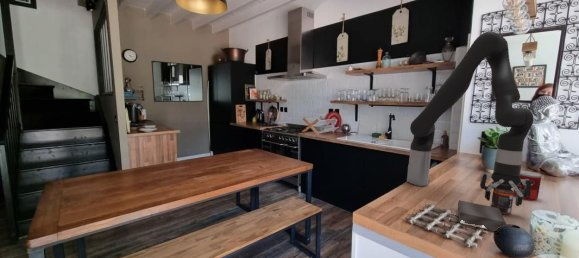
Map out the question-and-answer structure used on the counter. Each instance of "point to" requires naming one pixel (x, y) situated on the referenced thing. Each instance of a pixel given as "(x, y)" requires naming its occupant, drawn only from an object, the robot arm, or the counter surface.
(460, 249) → the counter surface
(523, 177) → the canned food
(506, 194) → the supplement bottle
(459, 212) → the riser
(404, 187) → the counter surface
